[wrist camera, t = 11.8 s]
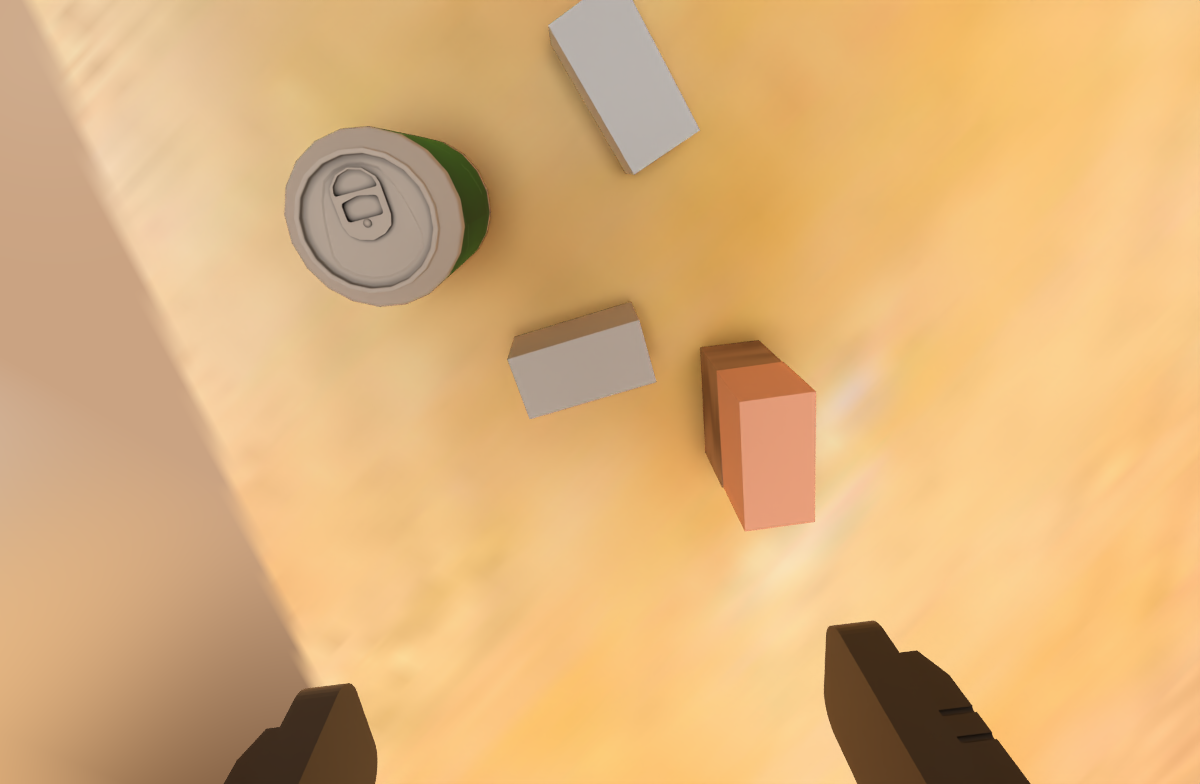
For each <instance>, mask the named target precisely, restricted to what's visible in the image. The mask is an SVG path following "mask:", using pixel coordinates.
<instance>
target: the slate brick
mask: <svg viewBox="0 0 1200 784" xmlns="http://www.w3.org/2000/svg"><path fill="white" fill-rule="evenodd" d="M507 360H508V362H509V365H510V368H511V370H512V373H513V376H514V378H515V381H516V384H517V386H518V389H519V392H520V394H521V397H522V400H523V403H524V405H525V408H526V411H527V413H528V416H529V419H532V418H536V417H539V416H543V415H546V414H549V413H553V412H556V411H560V410H563V409H566V408H570V407H573V406H577V405H580V404H583V403H587V402H590V401H594V400H597V399H600V398H604V397H607V396H611V395H614V394H617V393H621V392H624V391H628V390H631V389H635V388H638V387H641V386H645V385H648V384H652V383H655V382H656V379H655V375H654V372H653V368H652V364H651V361H650V357H649V354H648V350H647V346H646V343H645V339H644V336H643V332H642V328H641V325H640V321H639V318H638V316H637V314H636V312H635V310H634V308H633V305H632V303H631V302H628V303H625V304H622V305H618V306H615V307H612V308H608V309H605V310H602V311H598V312H595V313H592V314H589V315H585V316H582V317H579V318H575V319H572V320H569V321H565V322H562V323H559V324H555V325H552V326H549V327H546V328H542V329H539V330H536V331H532V332H529V333H526V334H522V335H519V336H516V337H514V340H513V344H512V347H511V350H510V353H509V356H508V359H507Z"/></svg>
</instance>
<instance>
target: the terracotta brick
mask: <svg viewBox="0 0 1200 784" xmlns="http://www.w3.org/2000/svg"><path fill="white" fill-rule="evenodd" d="M717 388H718V405H719V422H720V440H721V457H722V474H723V487H724V489H725V491H726V493H727V495H728V497H729V499H730V502H731V504H732V506H733V508H734V510H735V512H736V514H737V516H738V518H739V520H740V522H741V524H742V526H743V528H744V530H745V531H752V530H759V529H766V528H774V527H781V526H788V525H795V524H803V523H810V522H815V440H816V391H815V390H814V389H813V388H811V387H810V386H809V385H808V384H807V383H806V382H805V381H804V380H803V379H801V378H800V377H799V376H798V375H797V374H796V373H795V372H794V371H793V370H792V369H790V368H789V367H788V366H787V365H786V364H785V363H784V362H776V363H769V364H762V365H754V366H747V367H740V368H733V369H725V370H718V371H717Z"/></svg>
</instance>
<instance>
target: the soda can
mask: <svg viewBox="0 0 1200 784" xmlns="http://www.w3.org/2000/svg"><path fill="white" fill-rule="evenodd" d="M490 214H491V210H490V203H489V196H488V190H487V188H486V186H485V184H484V182H483V180H482V177H481V175H480V173H479V171H478V170H477V169H476V168H475V166H474V165H473V164H472V163H471V162H470V161H469V160H468V159H467V157H466V156H465V155H464V154H462V153H461V152H459V151H458V150H456V149H454V148H453V147H451V146H449V145H448V144H446V143H444V142H440V141H436V140H432V139H428V138H424V137H419V136H414V135H409V134H404V133H400V132H395V131H390V130H385V129H380V128H375V127H370V126H367V127H355V128H344V129H339V130H337V131H335V132H333V133H331V134H329V135H327V136H324V137H322V138H320V139H318V140H316V141H314V143H313V144H312V145H311V146H310V147H309V148H308V149H307V150H306V151H305V152H304V153H303V154H302V155H301V157H300V158H299V159H298V160H297V161H296V163H295V165H294V168H293V170H292V173H291V175H290V178H289V180H288V183H287V185H286V194H285V219H286V222H287V226H288V230H289V234H290V237H291V241H292V244H293V245H294V247H295V249H296V250H297V252H298V254H299V255H300V257H301V259H302V260H303V262H304V264H305V265H306V267H307V268H308V269H309V270H310V271H311V272H312V273H313V274H314V275H315V276H316V277H317V278H318V279H319V280H320V281H321V282H322V283H324V284H325V285H326V286H327V287H328V288H329V289H331V290H333V291H335V292H337V293H339V294H341V295H343V296H344V297H346V298H348V299H350V300H352V301H355V302H360V303H365V304H369V305H374V306H379V307H381V306H392V305H403V304H408V303H410V302H412V301H414V300H417V299H419V298H421V297H423V296H426V295H428V294H430V293H431V292H432V291H433V290H434V289H435V288H436V287H437V286H439V285H440V284H441V283H442V282H443V281H444V280H445V279H446V278H447V277H449V276H450V275H451V274H452V273H453V272H454V271H455V270H456V269H457V268H459V267H460V266H461V265H462V264H463V263H464V262H465V261H466V260H467V259H468V258H469V257H471V256H472V255H473V254H474V253H475V252H476V251H477V250H478V249H479V247H480V245H481V243H482V241H483V239H484V238H485V236H486V234H487V232H488V226H489V220H490Z"/></svg>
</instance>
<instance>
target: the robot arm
mask: <svg viewBox="0 0 1200 784" xmlns="http://www.w3.org/2000/svg"><path fill="white" fill-rule="evenodd" d="M824 699H825V705H826V710H827V714H828V718H829V721H830V724H831V727H832V730H833V732H834V735H835V737H836V739H837V741H838V743H839V745H840V748H841V750H842V752H843V754H844V756H845V758H846V760H847V763H848V765H849V767H850V769H851V771H852V773H853V775H854V778H855V780H856V782H857V784H1030V783H1029V781H1028V780H1027V779H1026V777H1025V776H1024V774H1023V773H1022V772H1021V770H1020V769H1019V768H1018V766H1017V765H1016V764H1015V762H1014V761H1013V760H1012V758H1011V757H1010V756H1009V754H1008V753H1007V752H1006V750H1005V749H1004V748H1003V746H1002V745H1001V744H1000V742H999V741H998V740H997V739H994V738H993V736H992V732H991V730H990V729H989V728H988V726H987V725H986V724H985V722H984V721H983V720H982V718H981V717H980V716H979V714H978V713H977V712H974V711H973V708H972V705H971V704H970V702H969V701H968V700H967V698H966V697H965V696H964V694H963V693H962V692H961V690H960V689H959V688H958V686H957V685H956V684H955V682H954V681H953V679H952V678H951V677H950V675H948V674H947V673H946V672H945V671H943V670H942V669H941V668H939V667H938V666H937V665H935V664H934V663H933V662H931V661H930V660H929V659H927V658H926V657H925V656H924V655H922V654H921V653H920V652H918V651H909V652H901V653H899V651H898V650H897V648H896V647H895V645H894V644H893V643H892V641H891V640H890V638H889V637H888V635H887V634H886V632H885V631H884V629H883V628H882V627H881V626H880V625H879V624H878V623H877V622H876V621H866V622H858V623H850V624H842V625H834V626H829V627H828V629H827V633H826V653H825V677H824ZM376 775H377V750H376V745H375V742H374V739H373V736H372V734H371V731H370V728H369V725H368V722H367V719H366V717H365V714H364V711H363V708H362V705H361V702H360V700H359V697H358V694H357V691H356V689H355V687H354V686H353V685H352V684H350V683H348V684H339V685H331V686H323V687H315V688H307V689H304V690H302V691H300V692H299V693H298V695H297V696H296V698H295V699H294V701H293V703H292V705H291V707H290V709H289V711H288V713H287V714H286V716H285V718H284V721H283V722H282V724H281V726H280V727H277V728H269V729H266V730H265V731H264V732H263V733H262V734H261V735H260V736H259V738H257V740H256V741H255V742H254V743H253V744H252V745H251V746H250V747H249V748H248V749H247V750H246V751H245V752H244V754H243V755H242V756H241V757H240V758H239V759H238V760H237V761H236V763H235V765H234V767H233V769H232V770H231V772H230V774H229V775H228V777H227V779H226V781H225V783H224V784H375V781H376Z"/></svg>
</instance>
